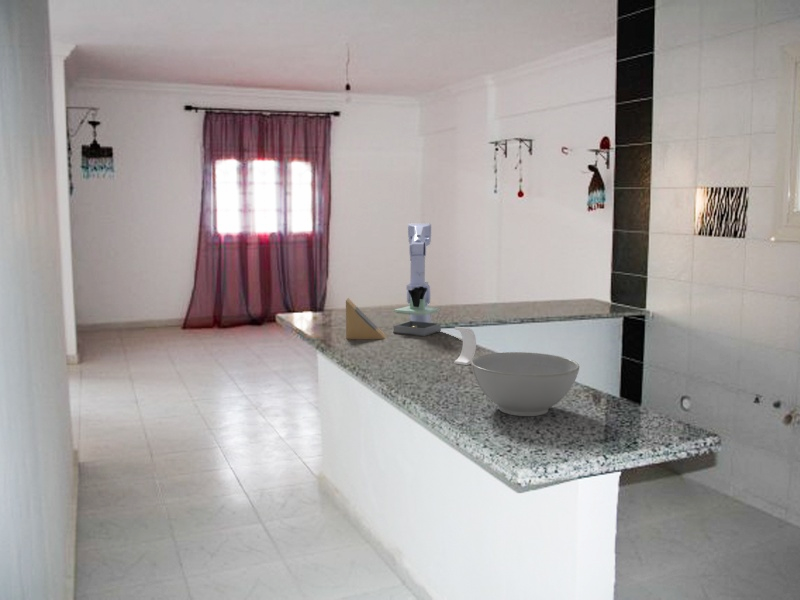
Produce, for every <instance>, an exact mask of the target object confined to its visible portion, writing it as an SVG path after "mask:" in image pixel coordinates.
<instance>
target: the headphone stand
mask: <svg viewBox="0 0 800 600" xmlns="http://www.w3.org/2000/svg"><path fill="white" fill-rule="evenodd" d="M454 330H456V331H457V330H458V332H460V335H461V336H462V347H461V352H460V354H459V357H458V358H457V359H456V360H454V363H453V364H454V365H455V364H456V365H461V366H469V365H471V361H472V359H474V358H475V357H474V356H475V354H476V350H477V338H476V334H475V332H474V330H473V329H471V328H469V327H463V326H462V327H461V326H455V327H454Z"/></svg>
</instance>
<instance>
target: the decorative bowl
mask: <svg viewBox="0 0 800 600" xmlns="http://www.w3.org/2000/svg"><path fill="white" fill-rule="evenodd" d="M470 367H471V371H472V374H473V377H474V380H475V381H476V384H477V385H478V387H479V388H480V390H481V391H482V392H483V394H484V395H485V396H486V397H487V398H488V400H490V401H491V402H493V403H494V404H495V405H496V406H498V410H499V411H500V412H501V413H504V414H506V415H507V414H508V415H511V416H516V417H536V416H543V415H545V414H547V413H548V412H549V408H551V407H554V406H555V405H556V404H558V403H559V402H561V400H563V399H564V398H565V397H566V396H567V394H568V393H569V391H570V390H571V389H572V387H573V385H574V384H575V382H576V380H577V377H578V374H579V371H580V364H579V363H578V362H576V361H575V360H573V359H570V358H567V357H564V356H559V355H554V354H548V353H547V354H546V353H541V352H540V353H538V352H523V351H522V352H520V351H519V352H518V351H517V352H516V351H513V352H507V351H506V352H494V353H493V352H492V353H487V354H483V355H482V354H481V355H478V356H476V357H473V359H472V361H471V364H470Z"/></svg>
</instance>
